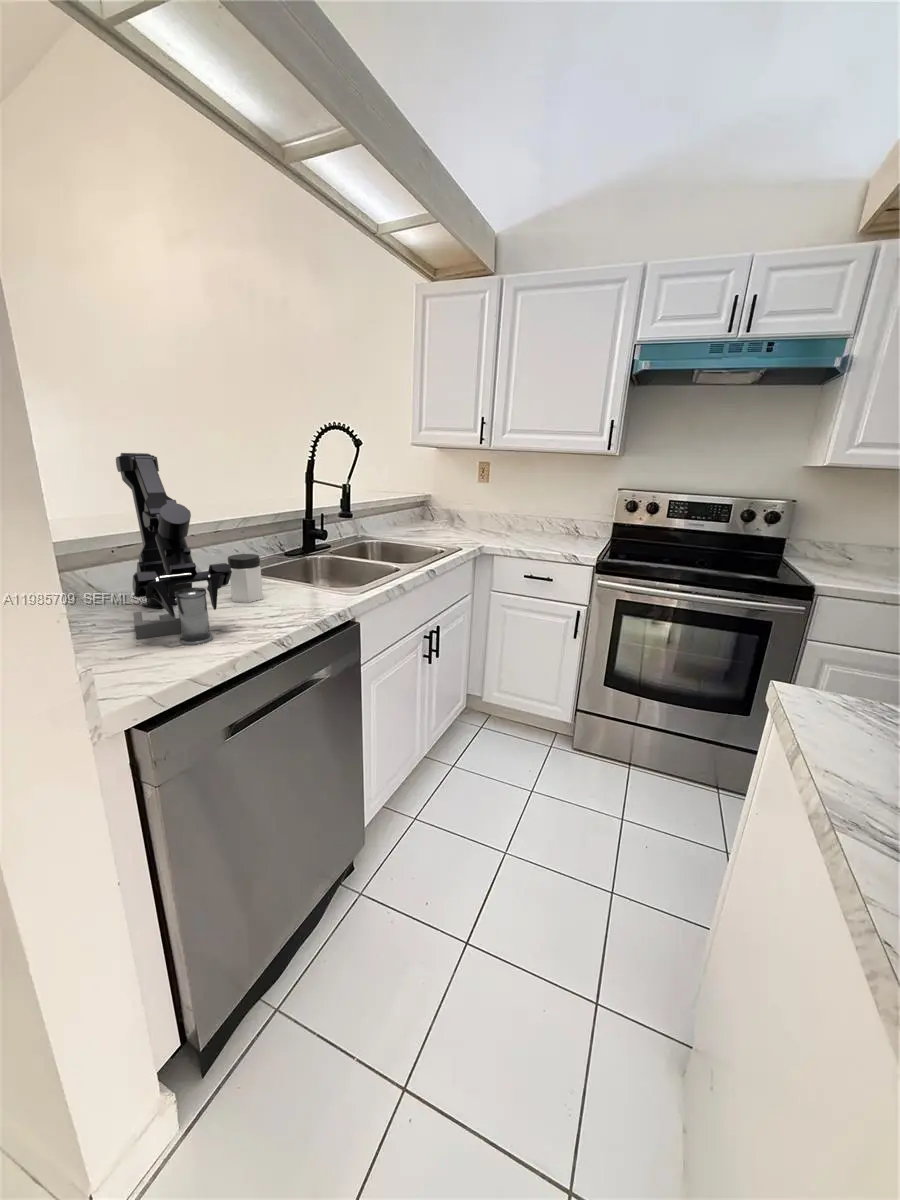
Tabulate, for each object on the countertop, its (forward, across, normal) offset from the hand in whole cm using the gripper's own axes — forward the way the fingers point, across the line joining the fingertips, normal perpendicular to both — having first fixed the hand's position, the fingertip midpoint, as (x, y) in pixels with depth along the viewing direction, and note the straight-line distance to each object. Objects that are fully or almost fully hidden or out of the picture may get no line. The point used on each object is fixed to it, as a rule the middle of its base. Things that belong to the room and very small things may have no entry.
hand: (194, 612), depth 105 cm
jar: (-14, -20, -24) cm, 35 cm away
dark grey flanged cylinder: (+4, 0, -6) cm, 7 cm away
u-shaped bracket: (-6, +3, -15) cm, 16 cm away
